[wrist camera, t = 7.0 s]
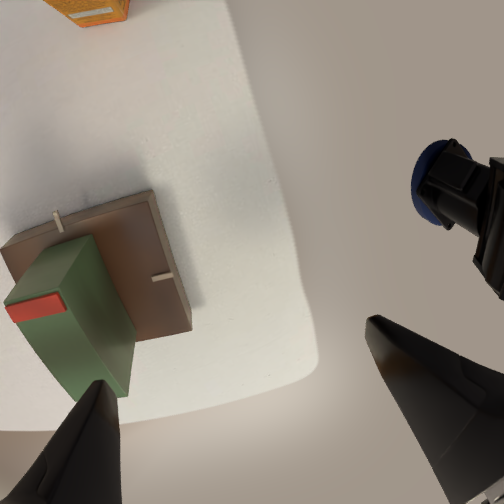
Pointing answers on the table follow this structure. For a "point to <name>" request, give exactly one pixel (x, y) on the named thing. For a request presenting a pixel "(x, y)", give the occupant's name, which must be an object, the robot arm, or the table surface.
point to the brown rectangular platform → (119, 259)
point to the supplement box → (92, 10)
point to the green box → (75, 318)
